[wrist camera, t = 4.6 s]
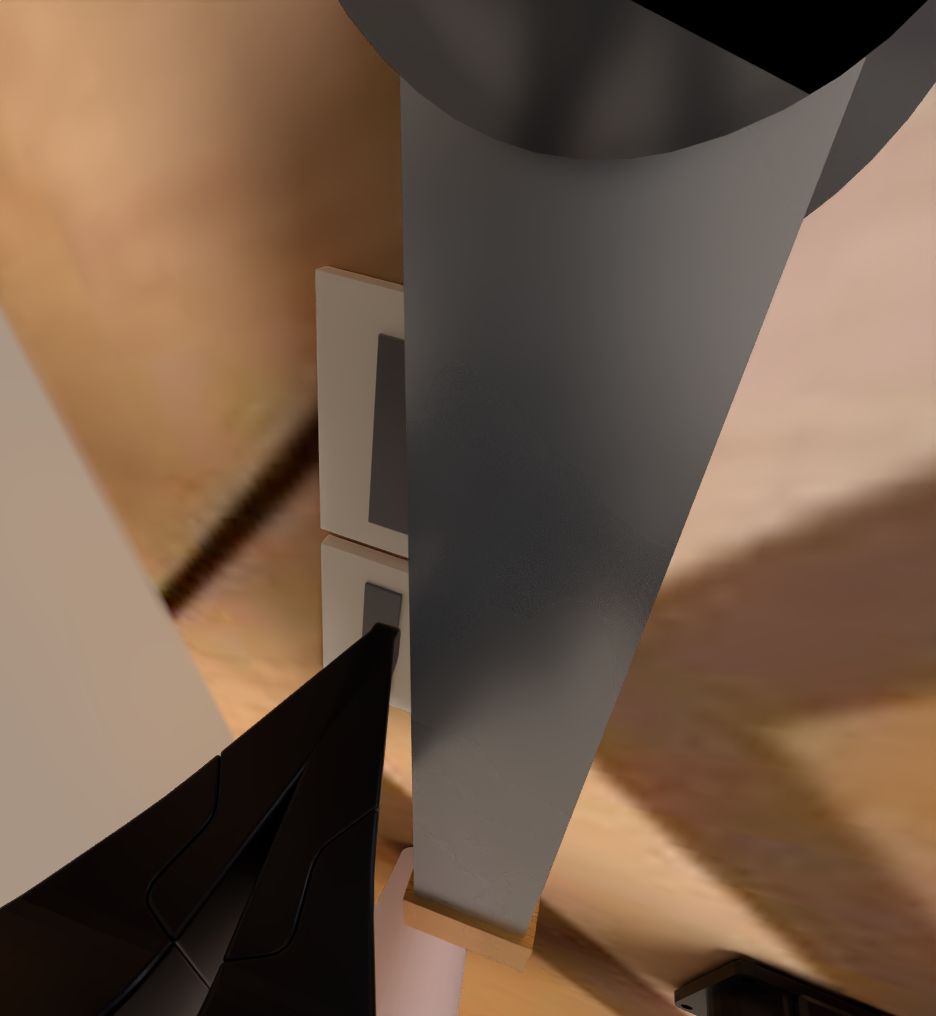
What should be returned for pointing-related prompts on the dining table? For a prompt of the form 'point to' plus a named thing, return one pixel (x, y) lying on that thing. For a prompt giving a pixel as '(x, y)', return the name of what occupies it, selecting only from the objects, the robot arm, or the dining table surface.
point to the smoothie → (412, 957)
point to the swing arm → (573, 369)
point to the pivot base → (881, 100)
